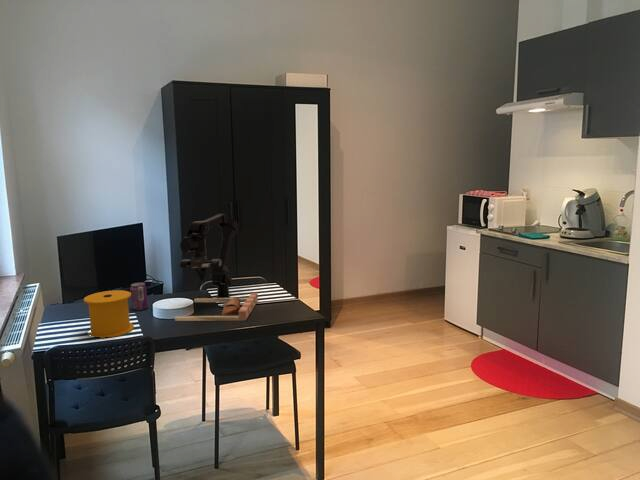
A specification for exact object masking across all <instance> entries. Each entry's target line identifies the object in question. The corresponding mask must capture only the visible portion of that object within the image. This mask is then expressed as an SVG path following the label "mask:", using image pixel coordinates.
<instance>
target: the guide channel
mask: <svg viewBox="0 0 640 480" xmlns="http://www.w3.org/2000/svg"><path fill="white" fill-rule="evenodd" d="M258 296H259V295H258V292H251V293H250V294H249V296H248V297H238V298H239V299H240V301H242V302H241V303H243V304H242V306H240V310H239V311H238V314H237V315H176V316H175V317H174V321H175V322H185V321H186V322H195V321H197V322H198V321H199V322H201V321H206V322H207V321H209V322H211V321H214V322H218V321H221V322H222V321H223V322H224V321H226V322H227V321H228V322H229V321H234V322H235V321H236V322H237V321H239V322H240V321H242V322H243V321H247V319H248V317H249V316H250V314H251V313H252V311H253V310H254V307H255V306H256V305H257V303H258V302H259V297H258ZM233 298H234V297H229V298H216V297H214V298H213V297H211V298H210V297H209V298H207V297H202V298H201V297H200V298H199V297H198V298H197V297H196V298H194V299H193V301H194V303H227V302H229V301H230V300H231V299H233ZM243 301H245V302H243ZM257 301H258V302H257Z"/></svg>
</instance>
